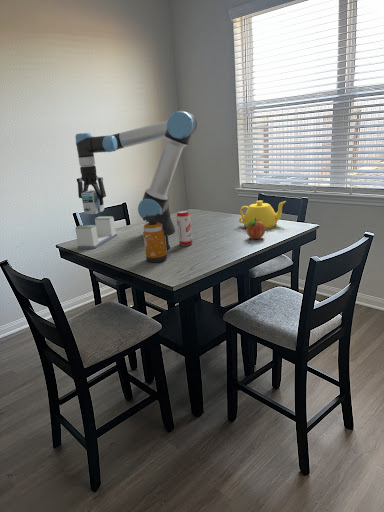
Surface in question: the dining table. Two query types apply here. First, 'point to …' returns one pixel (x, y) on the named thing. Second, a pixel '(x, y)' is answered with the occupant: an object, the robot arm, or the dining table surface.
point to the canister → (155, 238)
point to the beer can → (184, 228)
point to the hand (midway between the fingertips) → (94, 211)
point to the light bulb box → (90, 202)
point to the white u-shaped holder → (96, 233)
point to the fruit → (255, 229)
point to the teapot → (261, 214)
